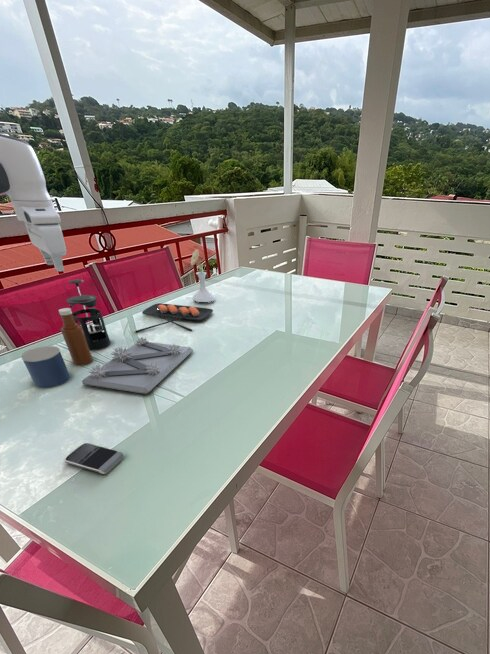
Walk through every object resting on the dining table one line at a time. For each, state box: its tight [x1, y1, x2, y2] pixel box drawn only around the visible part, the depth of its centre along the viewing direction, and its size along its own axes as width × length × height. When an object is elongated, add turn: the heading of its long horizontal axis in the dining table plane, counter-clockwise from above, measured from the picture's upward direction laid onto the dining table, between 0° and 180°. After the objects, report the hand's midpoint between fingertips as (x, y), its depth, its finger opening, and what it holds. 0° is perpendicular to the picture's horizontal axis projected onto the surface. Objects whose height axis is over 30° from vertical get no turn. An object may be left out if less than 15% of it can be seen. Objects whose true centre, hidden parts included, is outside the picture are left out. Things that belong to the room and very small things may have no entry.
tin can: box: [20, 345, 71, 389], centre depth 97 cm, size 9×9×9 cm
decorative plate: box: [81, 336, 194, 395], centre depth 106 cm, size 30×22×7 cm
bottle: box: [58, 307, 94, 367], centre depth 105 cm, size 6×6×18 cm
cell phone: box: [63, 442, 124, 475], centre depth 73 cm, size 6×11×1 cm, turn 73°
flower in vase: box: [190, 248, 217, 304], centre depth 158 cm, size 13×11×25 cm
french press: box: [66, 278, 112, 351], centre depth 114 cm, size 12×9×23 cm
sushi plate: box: [135, 303, 214, 333], centre depth 141 cm, size 29×30×4 cm
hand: (55, 267), depth 95 cm, fingers open, 8 cm apart
